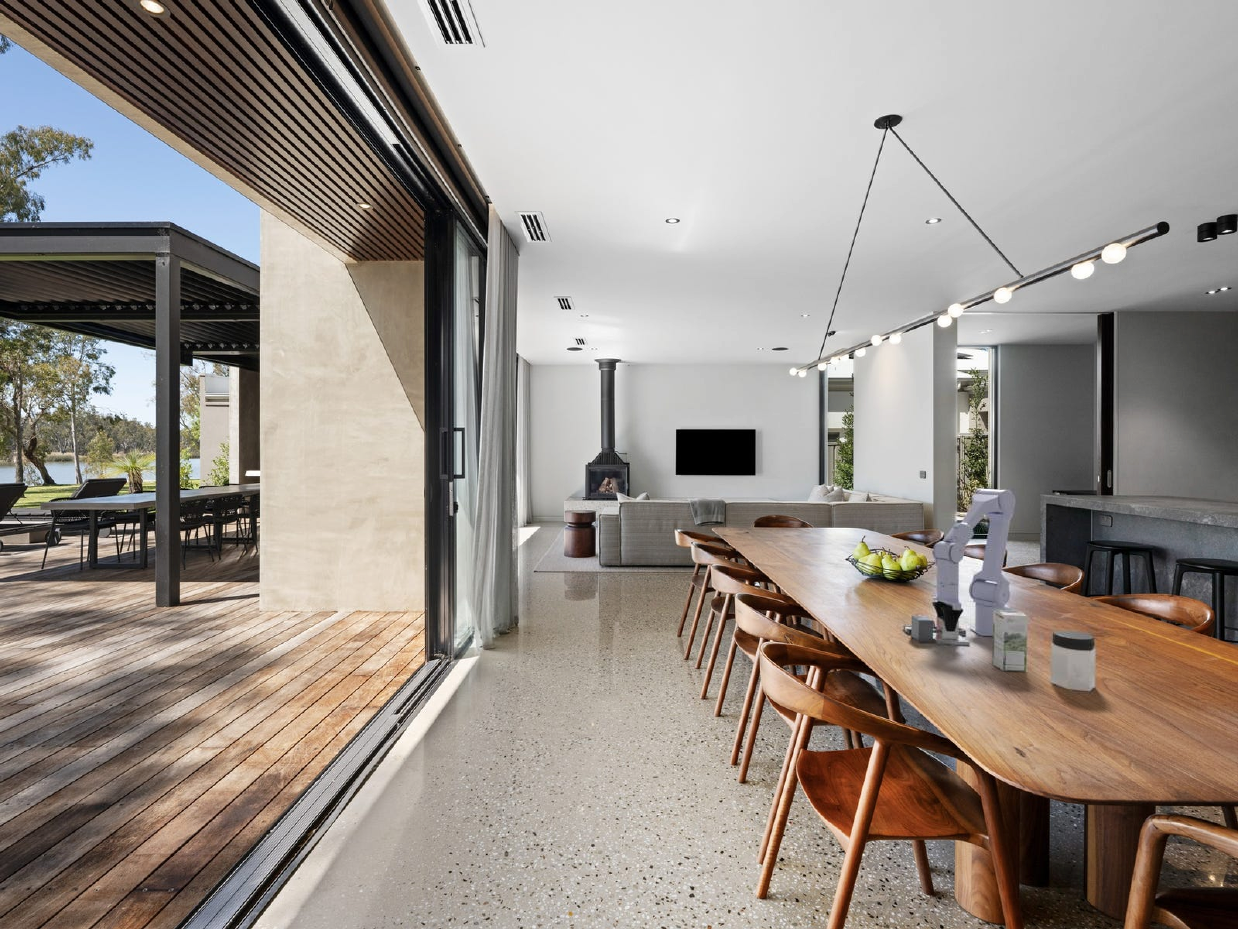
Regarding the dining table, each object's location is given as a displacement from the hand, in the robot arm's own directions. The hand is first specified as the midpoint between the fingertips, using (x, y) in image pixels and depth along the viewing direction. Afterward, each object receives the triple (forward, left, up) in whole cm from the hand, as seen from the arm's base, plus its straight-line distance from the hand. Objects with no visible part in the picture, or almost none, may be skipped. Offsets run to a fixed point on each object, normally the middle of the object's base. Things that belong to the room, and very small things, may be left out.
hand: (947, 629), depth 189 cm
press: (+1, -3, -3) cm, 5 cm away
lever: (+5, -8, -3) cm, 10 cm away
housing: (0, 0, -2) cm, 2 cm away
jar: (-15, +35, -4) cm, 38 cm away
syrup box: (-6, +24, -4) cm, 25 cm away
